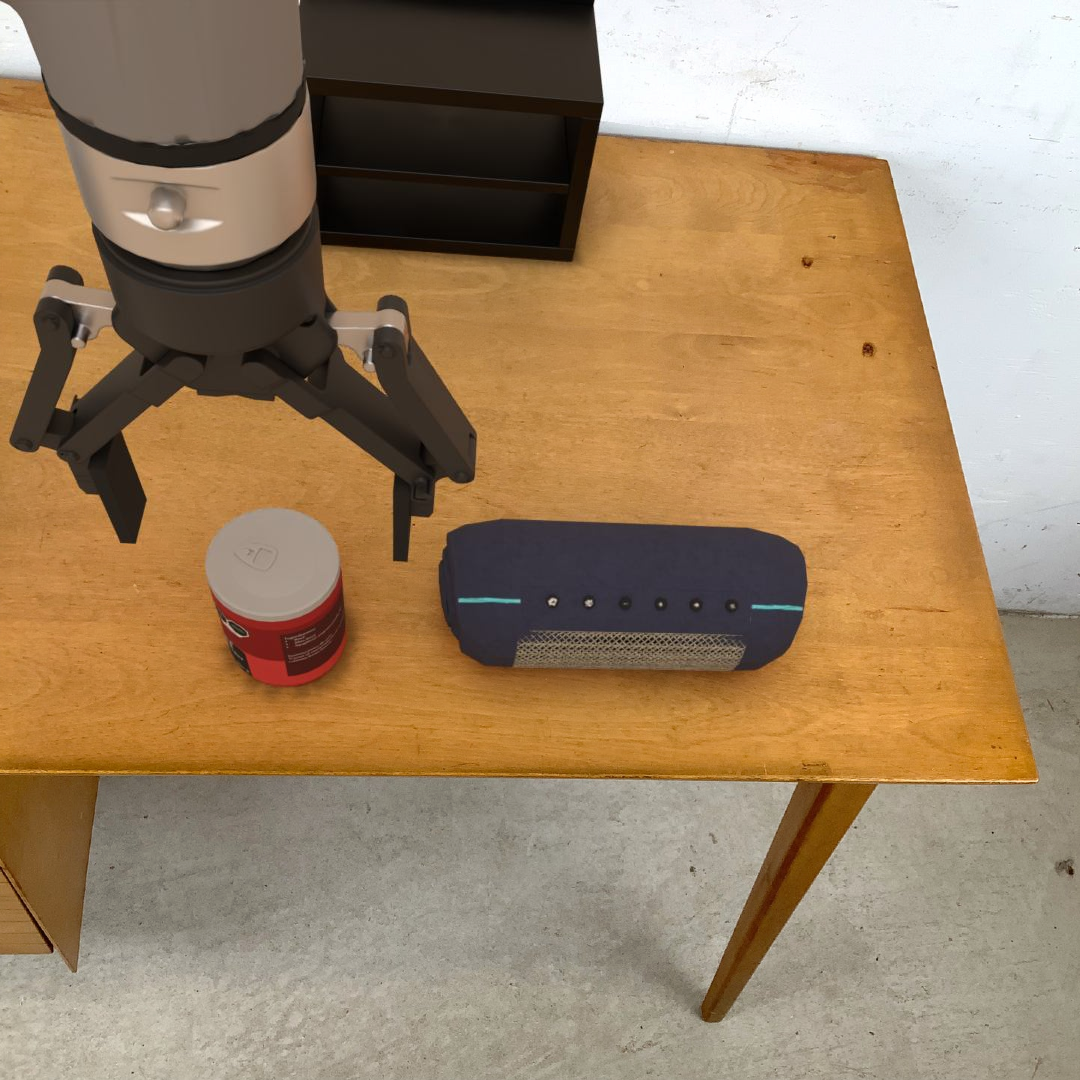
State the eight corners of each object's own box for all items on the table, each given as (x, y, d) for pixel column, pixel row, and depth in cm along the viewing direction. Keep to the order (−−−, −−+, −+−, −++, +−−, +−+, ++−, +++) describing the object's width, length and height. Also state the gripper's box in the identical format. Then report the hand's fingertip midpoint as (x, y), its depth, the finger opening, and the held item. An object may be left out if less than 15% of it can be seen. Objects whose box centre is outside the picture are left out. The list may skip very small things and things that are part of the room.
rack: (572, 262, 93) (608, 79, 77) (304, 243, 90) (285, 49, 74) (565, 160, 100) (597, -25, 84) (317, 140, 97) (302, -56, 81)
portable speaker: (434, 690, 69) (439, 625, 61) (436, 563, 74) (441, 487, 66) (786, 694, 72) (838, 633, 64) (765, 573, 77) (811, 501, 69)
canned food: (240, 585, 72) (217, 500, 62) (354, 595, 72) (348, 512, 63) (218, 686, 68) (190, 610, 58) (339, 695, 68) (331, 622, 59)
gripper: (-234, 242, 31) (-4, 578, 49) (569, 316, 34) (508, 609, 52) (-147, 90, 35) (37, 452, 53) (567, 167, 38) (511, 488, 55)
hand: (270, 530), depth 52 cm, fingers open, 13 cm apart
